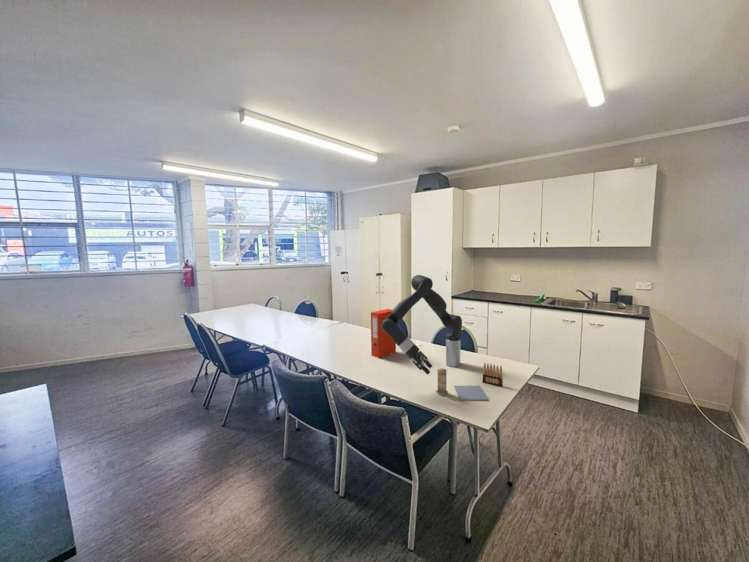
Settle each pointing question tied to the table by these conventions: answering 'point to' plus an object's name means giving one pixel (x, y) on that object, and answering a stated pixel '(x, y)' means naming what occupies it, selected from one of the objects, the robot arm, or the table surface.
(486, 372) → the ammunition clip
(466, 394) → the slate mat
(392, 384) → the table surface
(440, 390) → the tan ribbed cylinder
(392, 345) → the file binder
